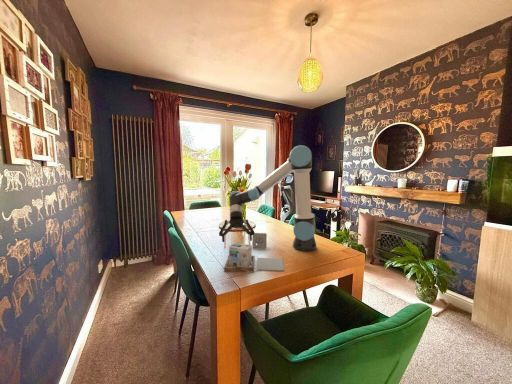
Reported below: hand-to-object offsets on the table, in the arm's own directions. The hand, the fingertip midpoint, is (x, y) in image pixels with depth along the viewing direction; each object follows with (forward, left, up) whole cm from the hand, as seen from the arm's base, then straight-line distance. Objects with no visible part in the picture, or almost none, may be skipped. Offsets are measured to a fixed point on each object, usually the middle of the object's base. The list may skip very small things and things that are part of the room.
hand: (237, 246), depth 118 cm
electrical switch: (-12, -23, -9) cm, 28 cm away
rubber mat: (-18, +3, -9) cm, 20 cm away
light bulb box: (-2, +4, -9) cm, 10 cm away
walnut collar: (-2, +4, -9) cm, 10 cm away
